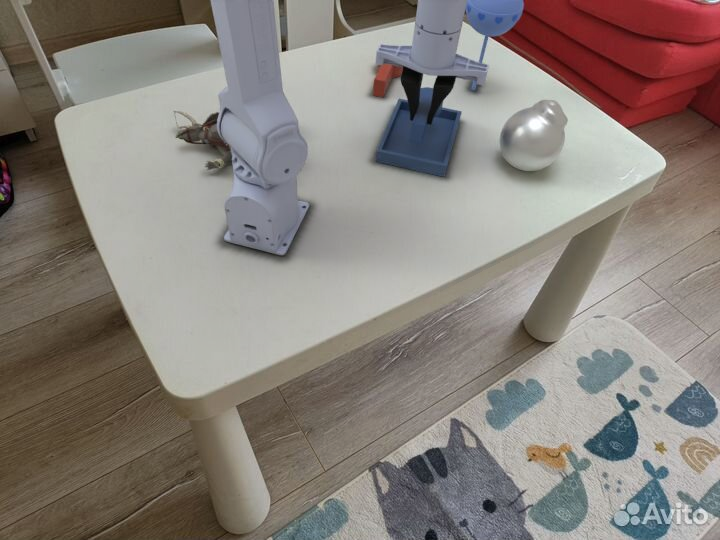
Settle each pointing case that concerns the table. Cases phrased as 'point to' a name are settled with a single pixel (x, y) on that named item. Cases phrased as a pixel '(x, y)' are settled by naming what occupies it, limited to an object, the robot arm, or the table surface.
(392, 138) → the blue tray
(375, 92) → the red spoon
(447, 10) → the robot arm
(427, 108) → the blue spoon
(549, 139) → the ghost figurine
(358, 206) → the table surface
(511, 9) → the baby rattle
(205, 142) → the figurine
